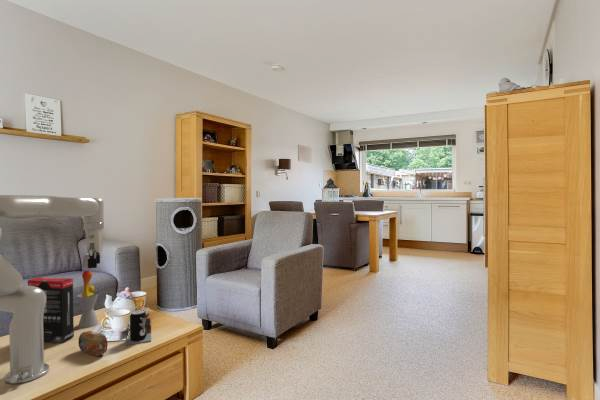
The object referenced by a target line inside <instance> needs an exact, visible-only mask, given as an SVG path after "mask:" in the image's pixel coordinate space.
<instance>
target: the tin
mask: <svg viewBox="0 0 600 400" xmlns="http://www.w3.org/2000/svg"><path fill="white" fill-rule="evenodd" d="M77 343H78V347H79V350H80V351H81V352H82V353H83V354H87V355H91V356H93V357H99V356H102V355H104V354H105V353H106V352H107V350H108V338H107V337H106V335H105V334H104V333H100V332H96V331H93V330H87V331H83V332H81V333H80V334H79V337H78V342H77Z"/></svg>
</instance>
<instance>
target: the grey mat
mask: <svg viewBox="0 0 600 400" xmlns="http://www.w3.org/2000/svg"><path fill="white" fill-rule="evenodd" d="M128 336H129V338H128V339H127V338H126V339H127V340H125V346H131V345H132V346H133V345H138V344H143V343H151V342H152V332H151V333H150V332H148V333H147V332H146V337H145V338H144V339H143V340H140V341H132V340H131V339H130V335H128Z"/></svg>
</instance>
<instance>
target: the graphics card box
mask: <svg viewBox="0 0 600 400" xmlns="http://www.w3.org/2000/svg"><path fill="white" fill-rule="evenodd" d="M27 286H35V287H38V288H40V289H42V290H43V291H44V292H45V294H46V305H45V309H44V317H43V330H44V343H45V342H46V343H48V342H49V343H60V344H62V343H66V342H67V341H69V340H71V339H72V338H74V335H75V333H74V329H75V328H74V326H75V324H74V323H75V322H74V278H66V277H65V278H63V277H62V278H61V277H60V278H59V277H41V276H40V277H34V278H30V279H27Z"/></svg>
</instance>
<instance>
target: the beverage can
mask: <svg viewBox="0 0 600 400" xmlns="http://www.w3.org/2000/svg"><path fill="white" fill-rule="evenodd" d="M146 318H147V312H146V310H145V309H135V310H132V311H131V312H130V315H129V321H130V329H129V336H130V339H131V340H132V341H140V340H143V339H144V338H145V337H146V334H147V327H146Z"/></svg>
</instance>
